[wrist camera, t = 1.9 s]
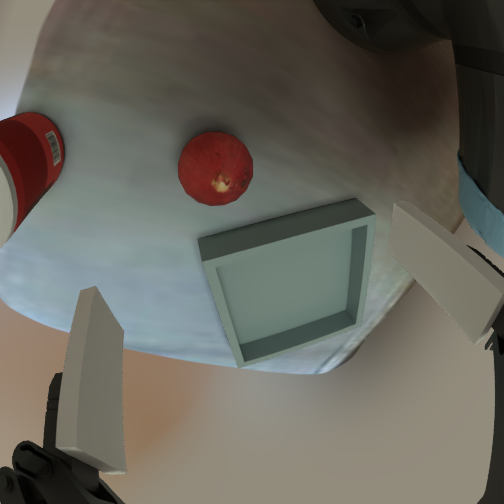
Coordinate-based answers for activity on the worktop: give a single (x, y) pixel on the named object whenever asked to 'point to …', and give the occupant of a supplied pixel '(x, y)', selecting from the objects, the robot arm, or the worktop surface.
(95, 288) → the robot arm
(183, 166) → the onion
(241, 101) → the worktop surface
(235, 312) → the bin
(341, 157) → the worktop surface
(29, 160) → the canned food
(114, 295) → the worktop surface
